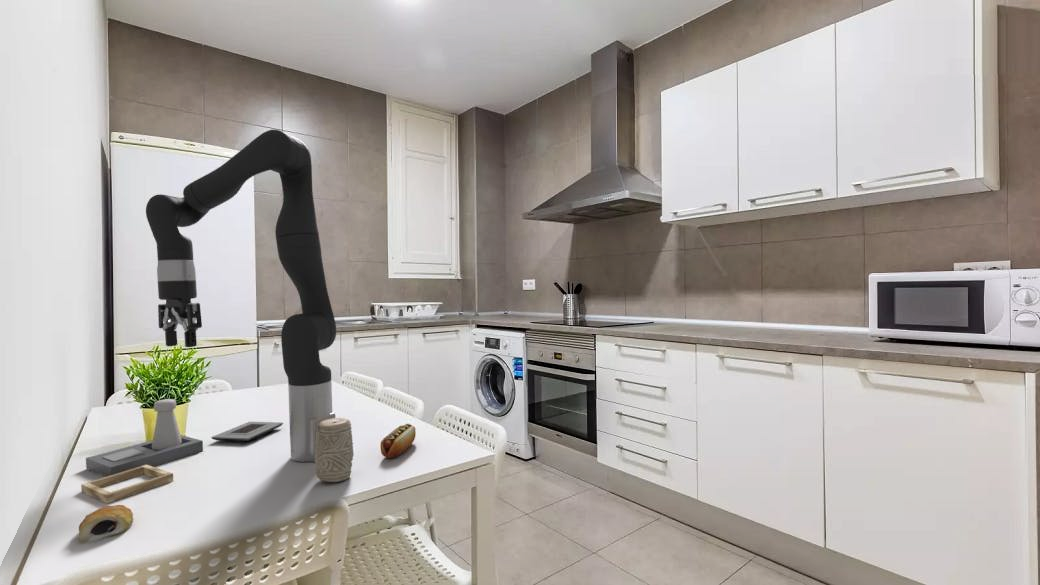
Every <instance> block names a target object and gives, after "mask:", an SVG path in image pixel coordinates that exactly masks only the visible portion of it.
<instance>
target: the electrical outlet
mask: <svg viewBox="0 0 1040 585" xmlns="http://www.w3.org/2000/svg"><path fill="white" fill-rule="evenodd" d="M283 424H284V422H274V421H273V422H272V421H248V422H245V423H243V424H240V425H238V426H236V427H233V428H231V429H228V430H226V431H222V432H221V433H218V434H216V435H212V436H211V439H212V440H215V441H229V442H230V441H232V442H250V441H252V440H254V439H257V438H258V437H260V436H263V435H265V434H267V433H269V432H271V431H273V430H275V429H278V428H280V427H281V426H283Z"/></svg>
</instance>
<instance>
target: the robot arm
mask: <svg viewBox="0 0 1040 585" xmlns="http://www.w3.org/2000/svg"><path fill="white" fill-rule="evenodd" d="M312 165H313V164H312V155H311V152H310V150H309V148H308V146H307V145H306V144H305V143H304V142H303V140H301V139H299V138H298V137H295V136H294V135H291V134H289V133H287V132H285V131H283V130H280V129H269V130H266V131H263V133H261V134H259V135H258V136H257V137H255V138H254V139H253V140H252V141H250V142H249V143H248V144H247V145H245V146H244V147H243V148H242V149H240V151H238V152H237V153H236V154H234V155H233V156H232V157H230V159H228V160H227V161H226V162H224V163H223V164H222V165H220V166H219V167H217V168H215V169H214V170H212V171H211V172H208V173H207V174H205V175H203V176H201V177H199V178H198V179H196V180H193V181H192V182H190V183H188V184H187V185H186V186H185V187H184V188H183V191H182V192H183V193H182V194H183V197H177V196H172V195H167V194H156V195H155V194H154V195H153V196H152V197H150V198H149V200H148V201H147V203H146V206H145V207H146V208H145V214H146V219H147V222H148V223H147V224H148V225H149V228H150V230H151V233H152V236H153V237H154V240H155V243H156V254H157V256H156V257H157V267H156V275H157V276H156V278H157V293H158V299H159V300H161V301H165V303H160V304H158V305H157V310H158V312H157V313H158V315H157V316H158V328H159V329H162V330H163V332H164V337H165V346H166V347H175V346H177V345H178V335H177V327H178V325H180V326H181V327H182V329H183V331H184V334H183V336H184V347H185V348H192V347H193V348H194V347H196V346H197V331H198V329H200V328H202V327H203V325H202V324H203V323H202V322H203V320H202V315H201V314H202V313H201V311H202V310H201V304H200V302H192V299H197V297H198V295H197V294H198V292H197V291H198V290H197V276H196V266H195V262H194V248H193V247H194V246H193V241H192V239H191V238H190V237H187V236H185V235H183V234H181V232H180V231H179V228H186V227H190V226H193V225H196V224H197V223H198V222H199V221H201V220H202V219H203V218H204V217H205V216H206V215H207V214H208V213H209V212H210V211H211V210H212V209H215V208H217V207H218V206H220V205H222V204H224V203H226V202H228V201H230V200H231V199H232V198H234V197H235V196H236V195H237V194H238V193H239V191H240V190H241V189H242V187H243V186H244V184H245V183H246V182H247V181H248V180H250V179H251V178H252V177H254V176H256V175H259V174H261V173H264V172H267V171H272V172H276V173H278V174H279V177H280V181H281V188H282V194H283V195H282V198H283V199H282V206H281V209H280V211H279V214H278V217H277V221H276V224H275V228H274V229H275V231H274V232H275V242H276V248H277V254H278V258H279V261H280V263H281V265H282V268H283V269H284V271H285V273H286V274H287V276H288V277H289V279H290V280H291V282H292V283H293V285H294V287H295V289H296V291H297V293H298V296H299V300H300V306H301V312H302V313H297V314H293V315H291V316H289V317H287V319H285V322H283V325H282V327H281V335H280V336H281V337H280V338H281V340H280V342H281V352H282V354H281V355H282V361H283V362H282V365H283V370H284V372H285V374H286V376H287V383H288V384H287V385H288V387H287V390H288V417H289V440H290V442H289V444H290V445H289V446H290V459H291V460H292V461H295V462H299V461H300V462H301V463H302V462H303V463H305V462H314V463H315V450H316V444H315V440H316V432H317V427H318V425H319V423H320V422H321V421H323V420H327V419H332V418H336V413H335V412H333V388H332V387H333V386H332V385H333V384H332V371H331V368H330V367H329V366H326V365H323V364H322V363H321V359H320V351H322V350H326V349H328V348H330V347H331V346H332V345H333V344H334V342H335V340H336V338H337V325H336V324H337V323H336V318H335V315H334V312H333V307H332V304H331V300H330V296H329V292H328V287H327V282H326V274H325V269H324V263H323V256H322V247H321V241H320V233H319V229H318V222H317V215H316V207H315V201H314V191H313V169H312V168H313V167H312ZM178 227H179V228H178Z"/></svg>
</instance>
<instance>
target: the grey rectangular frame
mask: <svg viewBox="0 0 1040 585" xmlns="http://www.w3.org/2000/svg"><path fill="white" fill-rule="evenodd" d="M180 436H181V439H182V443H181V444H180V445H176V446H173V447H169V448H166V449H162V450H159V451H154V450H152V442H153V439H152V440H148V441H145V442H141V443H137V444H133V445H130V446H126V447H121V448H118V449H115V450H111V451H107V452H103V453H100V454H96V455H93V456H89V457H85V469H86V468H87V469H89V470H88V471H90V470H91V471H90V472H92V471H93V473H95V474H97V475H100V476H101V477H102V476H103V477H107V476H110V475H114V474H117V473H120V472H123V471H127V470H130V469H133V468H137V467H140V466H143V465H150V466H152V467H156V466H159V465H162V464H165V463H168V462H169V463H170V462H171V461H175V460H179V459H181V458H184V457H188V456H191V455H194V454H198V453H200V452H203V451H204V443H203V440H202V439H198V438H193V437H190V436H186V435H182V434H180ZM87 469H86V470H87Z"/></svg>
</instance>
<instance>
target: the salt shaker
mask: <svg viewBox="0 0 1040 585" xmlns="http://www.w3.org/2000/svg"><path fill="white" fill-rule="evenodd" d="M176 407H177V401H176V400H175V399H173V398H167V399H166V398H165V399H159V400H158V401H157V400H156V401H155V402H154V405H153V410H154V412H156V419H155V426H154V432H153V436H152V437H153V439H152V440H153V442H152V450H154V451H159V450H162V449H166V448H169V447H173V446H176V445H180V444H181V443H182V439H181V436H180V435H181V433H180V429H179V425H178V421H177V418H176V414H175V411H174V410H175V409H176Z"/></svg>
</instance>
